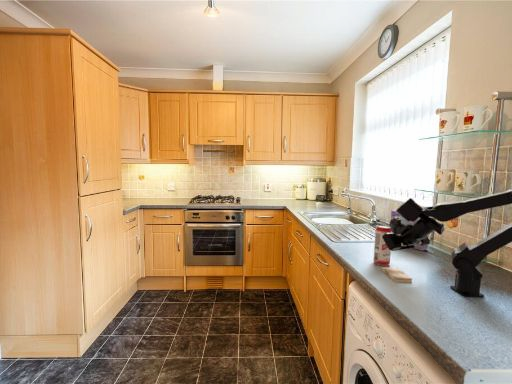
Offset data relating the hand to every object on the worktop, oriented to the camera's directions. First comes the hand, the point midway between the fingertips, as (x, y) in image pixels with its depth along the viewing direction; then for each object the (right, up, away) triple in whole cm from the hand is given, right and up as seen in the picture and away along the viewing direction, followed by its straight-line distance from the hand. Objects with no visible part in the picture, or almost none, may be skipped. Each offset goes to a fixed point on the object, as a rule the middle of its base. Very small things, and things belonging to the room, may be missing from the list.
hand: (392, 249), depth 105 cm
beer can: (-2, -7, +6) cm, 9 cm away
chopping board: (-2, -8, -6) cm, 11 cm away
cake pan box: (+24, -5, +31) cm, 40 cm away
